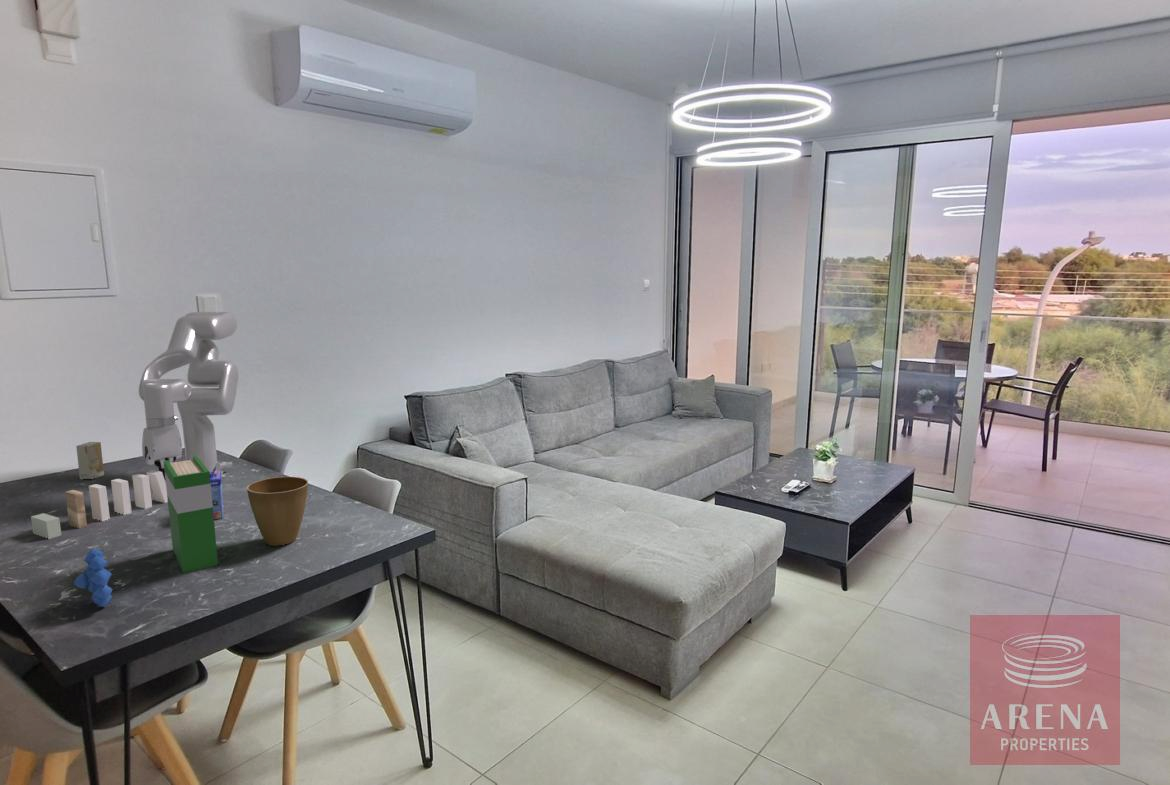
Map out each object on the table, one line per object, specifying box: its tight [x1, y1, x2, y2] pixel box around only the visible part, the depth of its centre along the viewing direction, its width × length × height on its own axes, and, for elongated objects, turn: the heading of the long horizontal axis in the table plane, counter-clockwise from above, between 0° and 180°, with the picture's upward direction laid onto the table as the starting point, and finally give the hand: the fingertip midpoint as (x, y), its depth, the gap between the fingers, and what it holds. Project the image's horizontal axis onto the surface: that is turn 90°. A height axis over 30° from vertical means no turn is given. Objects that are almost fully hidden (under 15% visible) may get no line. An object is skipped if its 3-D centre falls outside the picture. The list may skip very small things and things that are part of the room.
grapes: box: [73, 548, 113, 607], centre depth 142 cm, size 12×7×12 cm, turn 45°
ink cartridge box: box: [210, 466, 224, 520], centre depth 195 cm, size 10×6×14 cm, turn 28°
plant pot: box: [246, 476, 309, 547], centre depth 176 cm, size 15×15×16 cm
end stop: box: [30, 512, 62, 540], centre depth 180 cm, size 3×8×5 cm, turn 63°
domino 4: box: [131, 473, 153, 510], centre depth 202 cm, size 2×5×10 cm, turn 63°
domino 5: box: [145, 469, 168, 504], centre depth 206 cm, size 2×5×10 cm, turn 63°
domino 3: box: [110, 478, 132, 516], centre depth 197 cm, size 2×5×10 cm, turn 63°
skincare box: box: [75, 441, 105, 480], centre depth 231 cm, size 6×4×12 cm
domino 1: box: [64, 489, 88, 529], centre depth 186 cm, size 2×5×10 cm, turn 63°
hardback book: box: [164, 456, 219, 574], centre depth 165 cm, size 18×7×24 cm, turn 39°
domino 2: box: [88, 483, 111, 522], centre depth 191 cm, size 2×5×10 cm, turn 63°
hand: (166, 478), depth 208 cm, fingers closed
